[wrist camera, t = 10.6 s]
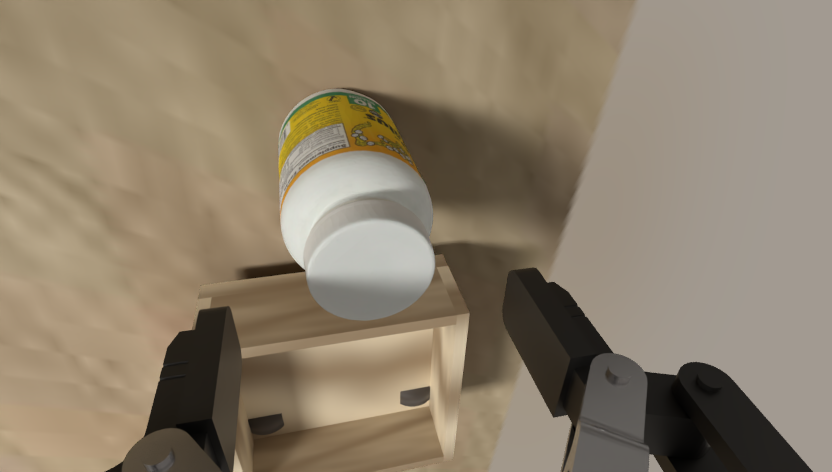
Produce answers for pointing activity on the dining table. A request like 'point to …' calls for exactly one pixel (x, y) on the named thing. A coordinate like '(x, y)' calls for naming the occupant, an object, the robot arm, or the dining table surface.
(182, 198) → the dining table surface
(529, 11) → the dining table surface
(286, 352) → the square wooden tray
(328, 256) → the supplement bottle
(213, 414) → the robot arm
